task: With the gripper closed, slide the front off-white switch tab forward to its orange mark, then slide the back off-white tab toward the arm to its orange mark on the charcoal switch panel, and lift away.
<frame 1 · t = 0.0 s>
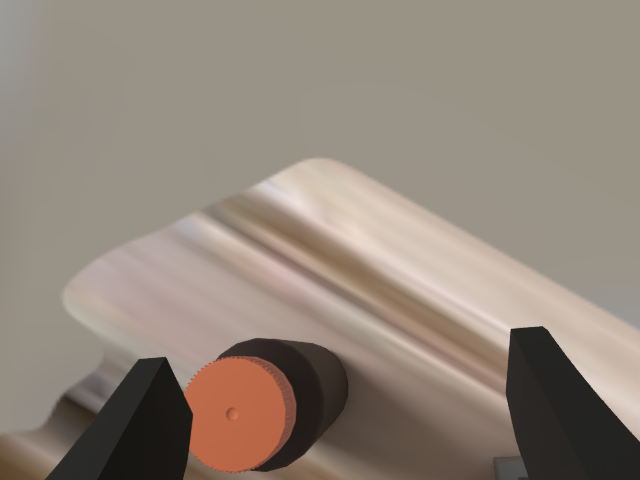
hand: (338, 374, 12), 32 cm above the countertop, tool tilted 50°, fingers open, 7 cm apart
bottle: (305, 386, 44), on the countertop
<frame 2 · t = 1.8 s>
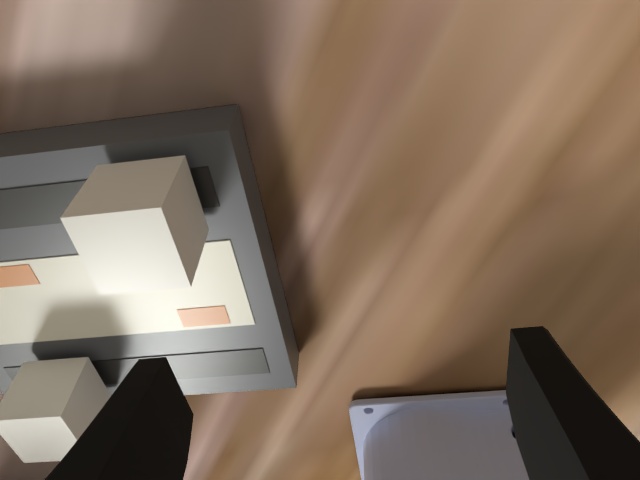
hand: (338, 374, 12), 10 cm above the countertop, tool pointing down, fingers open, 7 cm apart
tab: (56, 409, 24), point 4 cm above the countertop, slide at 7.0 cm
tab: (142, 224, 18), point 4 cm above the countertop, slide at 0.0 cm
switch panel: (114, 265, 24), on the countertop
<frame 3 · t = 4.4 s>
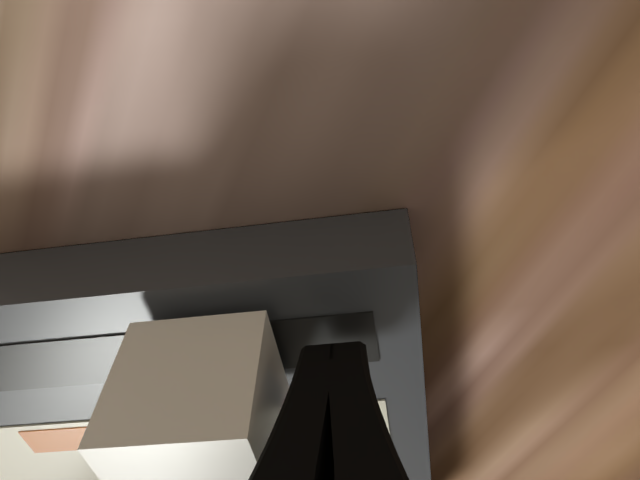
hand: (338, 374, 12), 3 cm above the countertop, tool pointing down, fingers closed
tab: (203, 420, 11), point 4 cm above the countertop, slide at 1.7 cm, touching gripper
switch panel: (196, 402, 18), on the countertop
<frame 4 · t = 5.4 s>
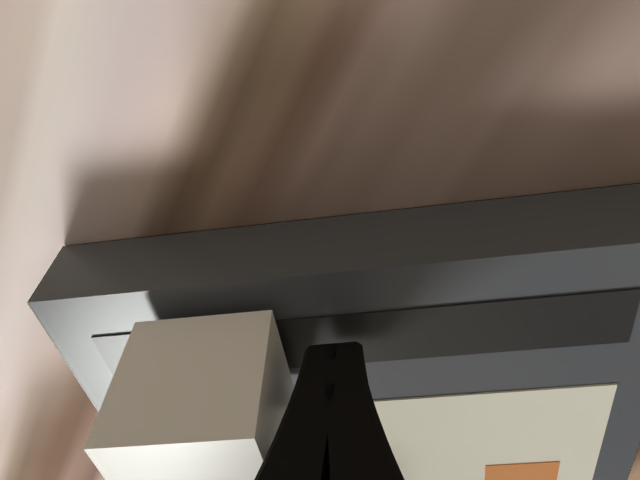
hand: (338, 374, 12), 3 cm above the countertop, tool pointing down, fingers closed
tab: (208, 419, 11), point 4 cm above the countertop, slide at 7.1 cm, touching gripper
switch panel: (370, 390, 17), on the countertop
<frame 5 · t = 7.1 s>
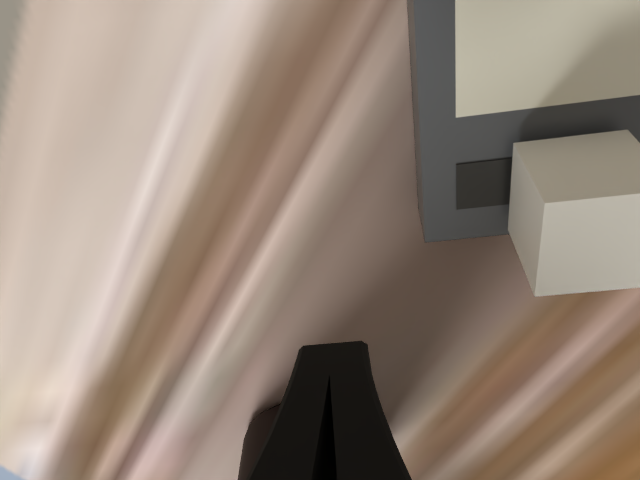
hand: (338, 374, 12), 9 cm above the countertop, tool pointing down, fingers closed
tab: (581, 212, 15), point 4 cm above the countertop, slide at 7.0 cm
bottle: (311, 433, 29), on the countertop
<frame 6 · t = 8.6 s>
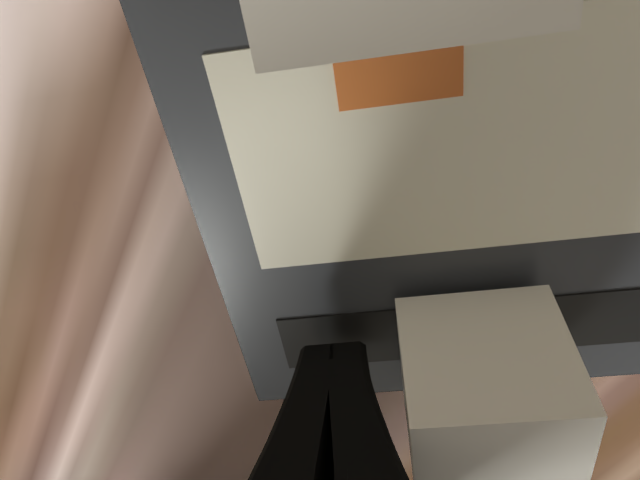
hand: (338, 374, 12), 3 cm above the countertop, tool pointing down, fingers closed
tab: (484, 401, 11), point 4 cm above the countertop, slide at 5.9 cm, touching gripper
switch panel: (547, 87, 11), on the countertop
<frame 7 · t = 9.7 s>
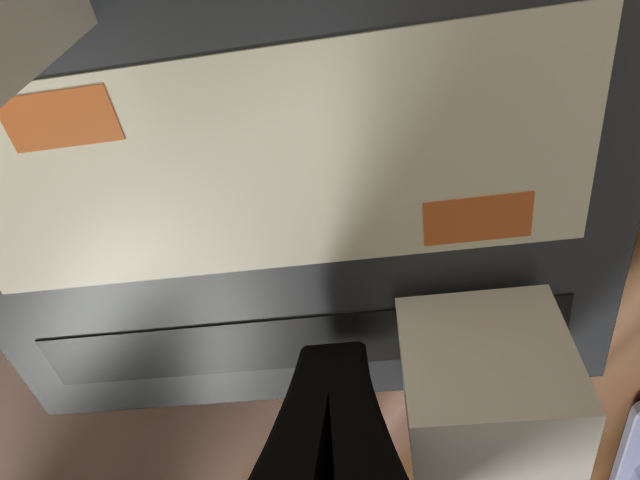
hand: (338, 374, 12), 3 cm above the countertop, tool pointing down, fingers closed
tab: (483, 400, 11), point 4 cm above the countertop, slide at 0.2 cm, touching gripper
switch panel: (263, 124, 12), on the countertop
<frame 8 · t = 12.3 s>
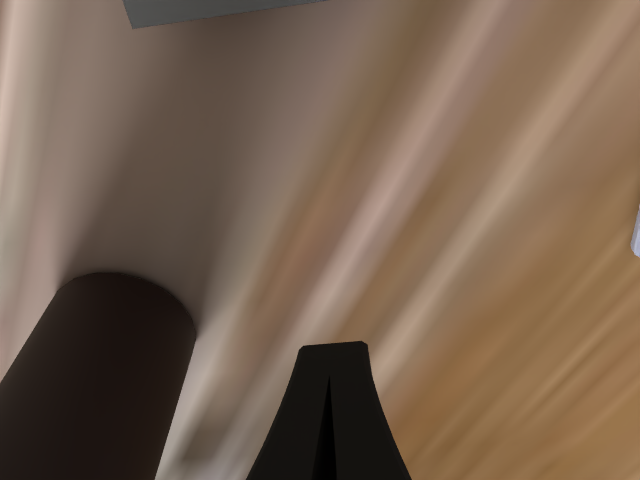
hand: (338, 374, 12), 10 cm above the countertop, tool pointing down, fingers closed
bottle: (127, 319, 27), on the countertop
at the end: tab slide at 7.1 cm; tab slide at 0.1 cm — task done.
